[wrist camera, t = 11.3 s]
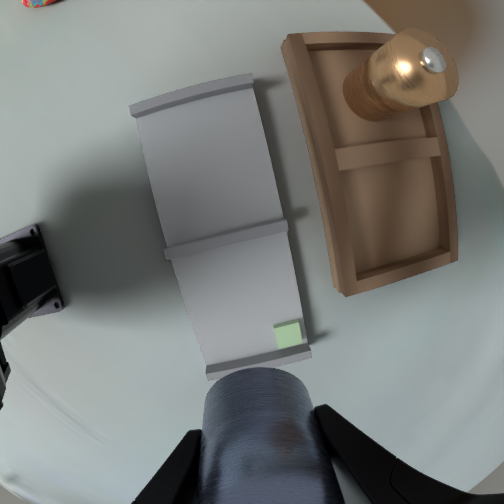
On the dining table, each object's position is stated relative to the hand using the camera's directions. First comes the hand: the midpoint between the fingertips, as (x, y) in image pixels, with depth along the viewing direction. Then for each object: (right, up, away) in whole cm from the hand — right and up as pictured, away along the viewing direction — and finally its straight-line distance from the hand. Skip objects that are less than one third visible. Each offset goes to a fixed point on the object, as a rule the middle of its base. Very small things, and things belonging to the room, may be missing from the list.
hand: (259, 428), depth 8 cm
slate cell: (0, 0, +1) cm, 1 cm away
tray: (+8, +12, +9) cm, 17 cm away
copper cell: (+7, +15, +7) cm, 18 cm away
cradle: (-2, +7, +10) cm, 12 cm away
